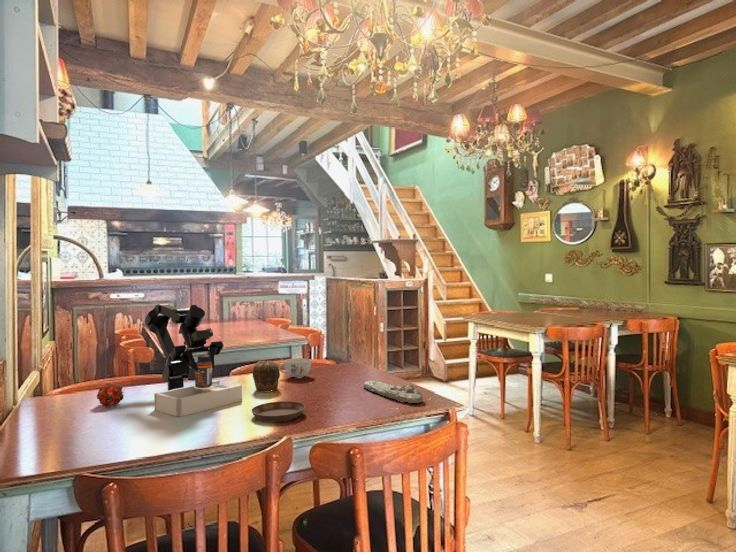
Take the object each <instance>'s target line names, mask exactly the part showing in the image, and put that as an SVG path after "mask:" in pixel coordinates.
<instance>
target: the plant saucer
mask: <svg viewBox="0 0 736 552" xmlns="http://www.w3.org/2000/svg"><path fill="white" fill-rule="evenodd" d="M305 408H306V406H305V404H304V403H302V402H297V401H286V400H284V401H283V400H282V401H272V402H265V403H262V404H259V405H256V406H254V407H252V409H251V410H250V411H251V413H252V415H253V416H254V417H255V418H256V419H257V420H258V421H260V420H261V422H264V421H265V423H281V422H282V421H284V422H288V421H287V420H289V421H291V419H292V420H295V419H297V418H299V417H300V416H301V415H302V413H303V412H304V410H305ZM298 416H299V417H298ZM294 418H295V419H294Z"/></svg>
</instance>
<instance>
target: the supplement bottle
mask: <svg viewBox="0 0 736 552" xmlns="http://www.w3.org/2000/svg"><path fill="white" fill-rule="evenodd" d="M195 362H196V364H197V367H198V370H197V371H195V370H194V385H195V387H197V388H207V387H211V386H212V381H213V368H212V362H211V361H210V360H209V355H207V354H200V355H198V356H197V361H195Z"/></svg>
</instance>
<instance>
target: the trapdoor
mask: <svg viewBox="0 0 736 552" xmlns="http://www.w3.org/2000/svg"><path fill="white" fill-rule="evenodd" d="M228 387H230V385H229V386H228V385H224V384H220V385H219V384H215V383H214V384H212V386H211V387H207V388H197V387H193V389H197V390H201V391H206V392H211V391H215V390H219V389H224V388H228Z"/></svg>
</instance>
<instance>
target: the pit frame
mask: <svg viewBox="0 0 736 552" xmlns="http://www.w3.org/2000/svg"><path fill="white" fill-rule="evenodd" d="M214 383H215V384H219V385H221V384H220V380H218V379H217V380H212V384H214ZM193 387H195V384H193V385H188V386H184V387H183V388H178V389H173V390H169V391H168V390H165V391H164V390H163V391H159V392H155V393H154V394H153V395H154V399H153V401H154V410H155V411H157V412H161V413H164V414H168V415H169V416H174V417H176V418H180V417H184V416H188V415H192V414H195V413H199V412H200V413H201V412H203V411H206V410H207V411H208V410H210V409H215V408H220V407H222V406H227V405H231V404H234V402H235V403H238V401H239V402H242V401H243V385H242V384H238V385H233V386H229V387H228V388H224V389H219V390H215V391H211V392H206V391H201V390H197V389H193ZM241 400H242V401H241Z"/></svg>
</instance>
